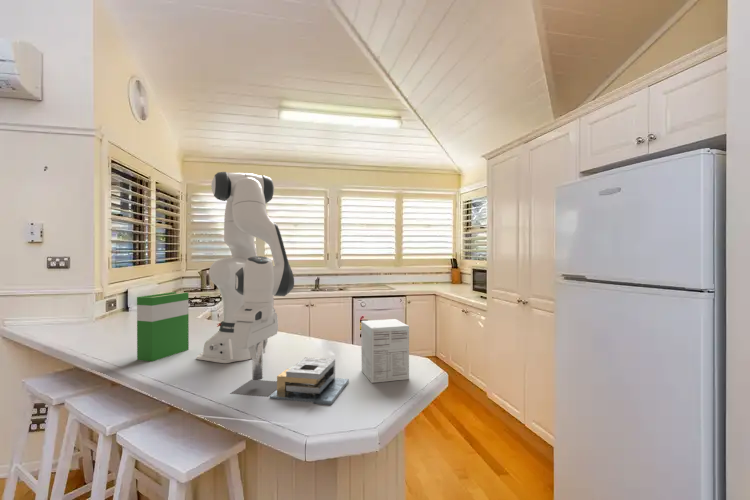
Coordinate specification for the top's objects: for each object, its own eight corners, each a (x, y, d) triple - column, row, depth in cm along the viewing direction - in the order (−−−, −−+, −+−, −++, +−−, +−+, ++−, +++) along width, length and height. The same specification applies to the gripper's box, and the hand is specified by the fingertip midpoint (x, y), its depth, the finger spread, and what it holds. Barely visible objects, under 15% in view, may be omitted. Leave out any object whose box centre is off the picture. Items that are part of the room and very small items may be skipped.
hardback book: (174, 348, 162) (174, 291, 162) (188, 349, 160) (188, 292, 160) (137, 359, 145) (137, 297, 145) (152, 361, 143) (151, 297, 143)
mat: (229, 394, 110) (229, 393, 110) (251, 380, 122) (251, 379, 122) (268, 398, 108) (268, 396, 108) (286, 383, 120) (286, 382, 120)
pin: (250, 379, 114) (251, 333, 114) (255, 376, 117) (256, 331, 117) (259, 380, 113) (260, 333, 113) (264, 377, 116) (265, 331, 116)
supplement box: (410, 379, 123) (410, 325, 123) (371, 383, 119) (371, 328, 119) (396, 367, 136) (396, 318, 136) (360, 370, 132) (360, 320, 132)
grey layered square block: (269, 399, 107) (269, 373, 107) (295, 378, 124) (295, 355, 124) (331, 404, 103) (331, 377, 103) (348, 382, 121) (348, 358, 121)
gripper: (265, 304, 126) (264, 346, 126) (229, 315, 106) (228, 365, 106) (283, 305, 125) (282, 347, 125) (250, 317, 104) (249, 367, 105)
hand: (257, 356), depth 115 cm, fingers closed on pin, 3 cm apart
